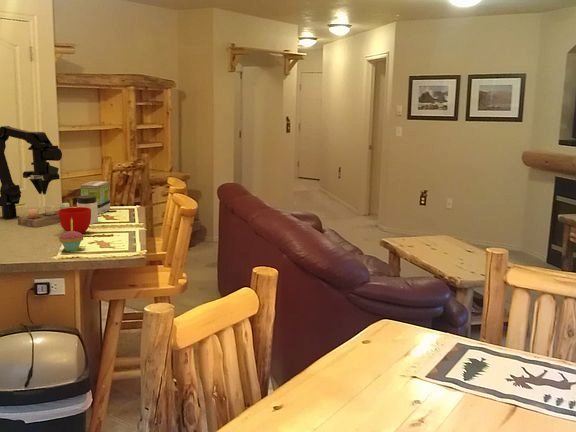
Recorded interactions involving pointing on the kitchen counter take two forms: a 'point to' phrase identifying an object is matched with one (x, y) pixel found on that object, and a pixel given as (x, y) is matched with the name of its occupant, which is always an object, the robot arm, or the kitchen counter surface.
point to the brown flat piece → (39, 220)
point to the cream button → (49, 210)
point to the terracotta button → (33, 213)
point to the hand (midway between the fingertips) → (42, 194)
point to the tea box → (98, 194)
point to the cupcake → (71, 239)
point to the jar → (89, 206)
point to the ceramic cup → (75, 218)
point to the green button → (64, 205)
